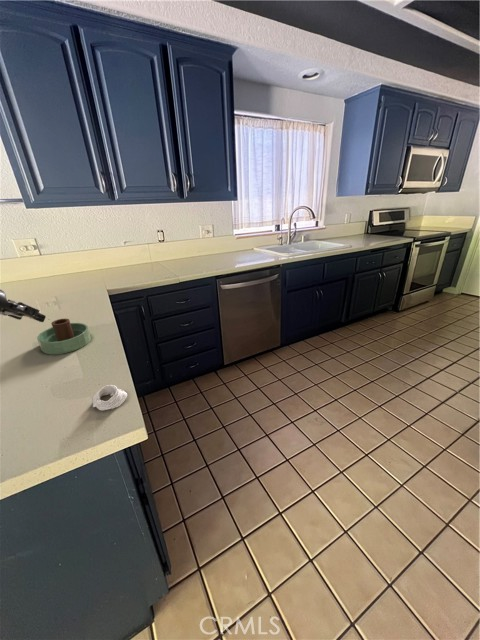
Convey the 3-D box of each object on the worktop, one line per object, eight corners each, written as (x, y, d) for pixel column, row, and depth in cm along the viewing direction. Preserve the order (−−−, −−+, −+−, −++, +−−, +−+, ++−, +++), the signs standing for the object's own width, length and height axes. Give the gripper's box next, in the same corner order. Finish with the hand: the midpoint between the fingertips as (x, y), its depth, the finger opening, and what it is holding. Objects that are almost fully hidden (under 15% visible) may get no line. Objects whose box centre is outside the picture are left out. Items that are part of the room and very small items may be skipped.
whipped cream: (128, 394, 72) (126, 378, 71) (126, 409, 66) (125, 392, 65) (96, 398, 70) (93, 382, 68) (91, 414, 64) (88, 397, 62)
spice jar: (56, 347, 92) (49, 325, 88) (61, 340, 96) (54, 319, 93) (73, 345, 93) (66, 323, 89) (77, 338, 98) (70, 317, 94)
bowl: (35, 359, 86) (29, 345, 84) (50, 337, 100) (46, 325, 97) (86, 351, 90) (82, 338, 88) (94, 332, 104) (91, 320, 101)
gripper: (4, 283, 66) (56, 308, 81) (-39, 280, 69) (19, 304, 84) (-9, 311, 64) (46, 331, 79) (-54, 306, 67) (8, 327, 82)
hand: (32, 317), depth 82 cm, fingers open, 8 cm apart
